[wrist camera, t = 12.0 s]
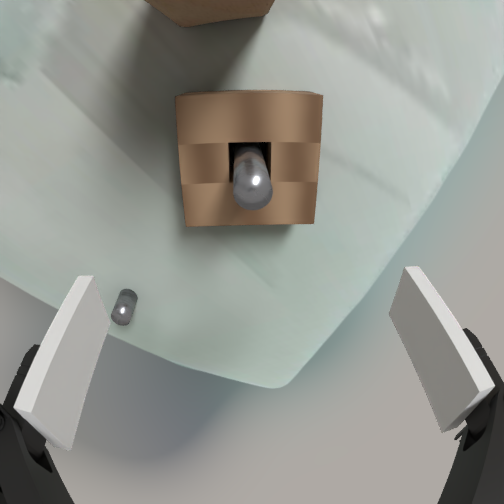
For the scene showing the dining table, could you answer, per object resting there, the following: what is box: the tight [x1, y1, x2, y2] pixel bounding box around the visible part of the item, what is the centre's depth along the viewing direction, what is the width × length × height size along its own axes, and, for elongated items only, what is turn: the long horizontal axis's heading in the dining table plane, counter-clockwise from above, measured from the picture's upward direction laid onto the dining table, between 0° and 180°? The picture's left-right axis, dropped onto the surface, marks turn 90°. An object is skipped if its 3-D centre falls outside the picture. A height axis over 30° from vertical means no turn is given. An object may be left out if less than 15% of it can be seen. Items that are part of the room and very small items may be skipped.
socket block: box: [175, 90, 323, 227], centre depth 33 cm, size 14×14×6 cm
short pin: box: [111, 289, 138, 326], centre depth 44 cm, size 3×3×5 cm
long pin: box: [233, 142, 273, 210], centre depth 29 cm, size 3×3×14 cm
